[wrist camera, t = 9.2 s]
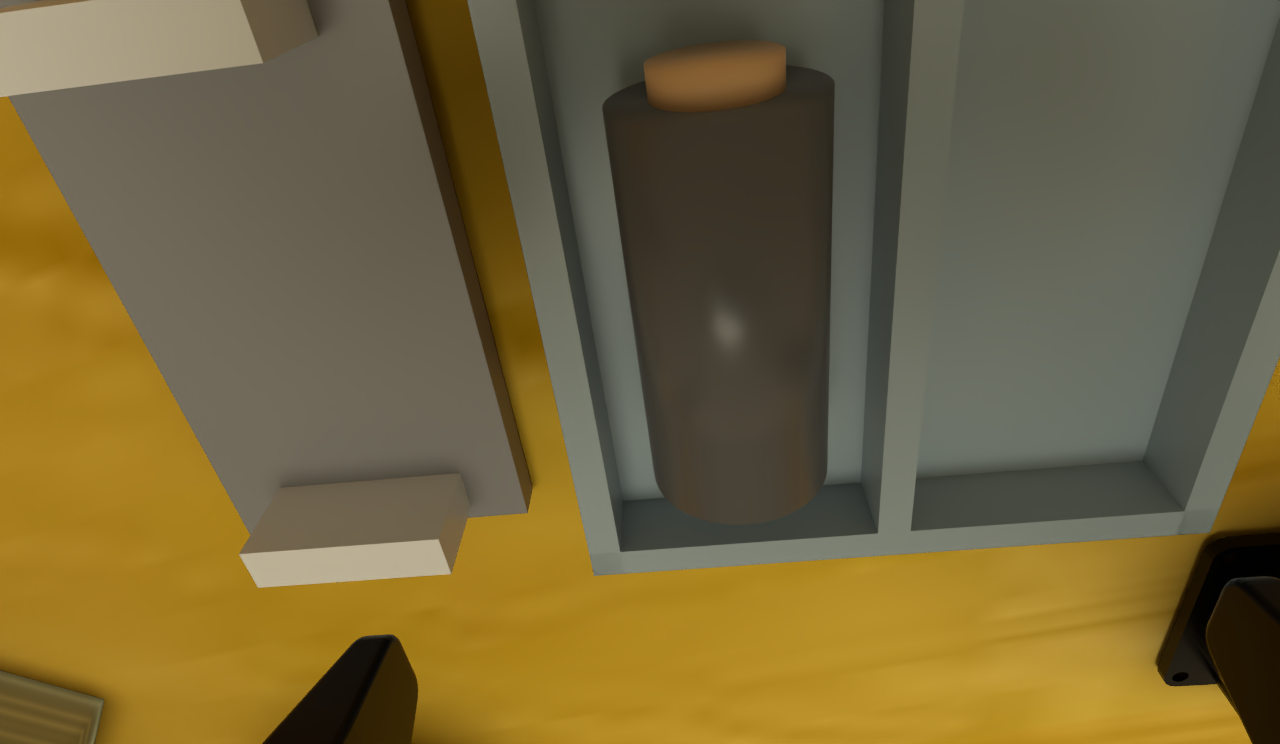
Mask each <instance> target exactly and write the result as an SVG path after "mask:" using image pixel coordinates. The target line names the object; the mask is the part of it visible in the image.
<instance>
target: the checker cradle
mask: <svg viewBox="0 0 1280 744" xmlns="http://www.w3.org/2000/svg"><path fill="white" fill-rule="evenodd" d="M4 96H8V97H9V98H10V100H11V102H12V104H13V106H14V107H15V109H16V111H17V113H18V115H19V116H20V118H21V120H22V122H23V124H24V126H25V127H26V129H27V131H28V133H29V135H30V136H31V138H32V140H33V142H34V144H35V145H36V147H37V149H38V151H39V153H40V155H41V156H42V158H43V160H44V162H45V164H46V165H47V167H48V169H49V171H50V173H51V174H52V176H53V178H54V180H55V182H56V184H57V185H58V187H59V189H60V191H61V193H62V194H63V196H64V198H65V200H66V202H67V203H68V205H69V207H70V209H71V211H72V212H73V214H74V216H75V218H76V220H77V222H78V223H79V225H80V227H81V229H82V231H83V232H84V234H85V236H86V238H87V240H88V241H89V243H90V245H91V247H92V249H93V251H94V252H95V254H96V256H97V258H98V260H99V261H100V263H101V265H102V267H103V269H104V270H105V272H106V274H107V276H108V278H109V279H110V281H111V283H112V285H113V287H114V289H115V290H116V292H117V294H118V296H119V298H120V299H121V301H122V303H123V305H124V307H125V308H126V310H127V312H128V314H129V316H130V318H131V319H132V321H133V323H134V325H135V327H136V328H137V330H138V332H139V334H140V336H141V337H142V339H143V341H144V343H145V345H146V346H147V348H148V350H149V352H150V354H151V356H152V357H153V359H154V361H155V363H156V365H157V366H158V368H159V370H160V372H161V374H162V375H163V377H164V379H165V381H166V383H167V385H168V386H169V388H170V390H171V392H172V394H173V395H174V397H175V399H176V401H177V403H178V404H179V406H180V408H181V410H182V412H183V414H184V415H185V417H186V419H187V421H188V423H189V424H190V426H191V428H192V430H193V432H194V433H195V435H196V437H197V439H198V441H199V442H200V444H201V446H202V448H203V450H204V452H205V453H206V455H207V457H208V459H209V461H210V462H211V464H212V466H213V468H214V470H215V471H216V473H217V475H218V477H219V479H220V481H221V482H222V484H223V486H224V488H225V490H226V491H227V493H228V495H229V497H230V499H231V500H232V502H233V504H234V506H235V508H236V509H237V511H238V513H239V515H240V517H241V519H242V520H243V522H244V524H245V526H246V528H247V529H248V531H249V533H250V534H251V535H250V537H249V539H248V540H247V542H246V544H245V545H244V547H243V549H242V550H241V552H240V553H239V555H240V557H241V559H242V560H243V562H244V564H245V565H246V567H247V569H248V571H249V572H250V574H251V576H252V578H253V579H254V581H255V583H256V585H257V586H258V588H260V587H275V586H289V585H303V584H317V583H331V582H345V581H359V580H373V579H387V578H401V577H415V576H429V575H443V574H451V573H452V569H453V566H454V563H455V559H456V556H457V552H458V549H459V545H460V542H461V539H462V535H463V532H464V528H465V525H466V521H467V518H469V517H482V516H495V515H508V514H521V513H528V509H529V504H530V499H531V494H532V489H533V488H532V484H531V480H530V477H529V473H528V469H527V465H526V461H525V457H524V454H523V450H522V446H521V442H520V438H519V434H518V431H517V427H516V423H515V419H514V415H513V411H512V408H511V404H510V400H509V396H508V392H507V388H506V385H505V381H504V377H503V373H502V369H501V365H500V362H499V358H498V354H497V350H496V346H495V342H494V339H493V335H492V331H491V327H490V323H489V319H488V316H487V312H486V308H485V304H484V300H483V296H482V293H481V289H480V285H479V281H478V277H477V273H476V270H475V266H474V262H473V258H472V254H471V250H470V247H469V243H468V239H467V235H466V231H465V227H464V224H463V220H462V216H461V212H460V208H459V204H458V201H457V197H456V193H455V189H454V185H453V181H452V178H451V174H450V170H449V166H448V162H447V158H446V155H445V151H444V147H443V143H442V139H441V135H440V132H439V128H438V124H437V120H436V116H435V112H434V109H433V105H432V101H431V97H430V93H429V89H428V86H427V82H426V78H425V74H424V70H423V66H422V63H421V59H420V55H419V51H418V47H417V43H416V40H415V36H414V32H413V28H412V24H411V20H410V17H409V13H408V9H407V5H406V1H405V0H0V97H4Z"/></svg>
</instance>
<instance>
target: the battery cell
mask: <svg viewBox="0 0 1280 744" xmlns="http://www.w3.org/2000/svg"><path fill="white" fill-rule="evenodd" d="M644 74H645V81H643V82H639V83H637V84H634V85H631V86H629V87H626V88H624V89H622V90H620V91H618V92H616V93H614V94H613V95H611V96H610V97H608V98H607V99H606V100H605V102H604V103H603V105H602V111H603V118H604V125H605V132H606V139H607V146H608V153H609V160H610V167H611V174H612V181H613V189H614V196H615V203H616V210H617V217H618V224H619V231H620V238H621V245H622V252H623V259H624V266H625V273H626V280H627V287H628V294H629V301H630V308H631V315H632V322H633V329H634V336H635V343H636V350H637V357H638V364H639V371H640V378H641V385H642V392H643V399H644V406H645V413H646V420H647V427H648V434H649V441H650V448H651V455H652V462H653V469H654V476H655V480H656V483H657V485H658V488H659V490H660V491H661V493H662V494H663V496H664V497H665V498H666V499H667V500H668V501H669V502H670V503H671V504H673V505H674V506H675V507H676V508H678V509H679V510H681V511H683V512H685V513H686V514H689V515H691V516H693V517H696V518H699V519H702V520H705V521H709V522H714V523H719V524H729V525H747V524H757V523H763V522H768V521H772V520H775V519H778V518H781V517H784V516H786V515H789V514H791V513H793V512H795V511H796V510H798V509H800V508H801V507H803V506H804V505H806V504H807V503H808V502H809V501H810V500H812V499H813V498H814V497H815V496H816V494H817V493H818V492H819V490H820V489H821V487H822V485H823V484H824V482H825V478H826V475H827V467H828V415H829V362H830V310H831V257H832V204H833V151H834V98H835V83H834V80H833V79H832V78H831V77H830V76H829V75H827V74H825V73H823V72H820V71H818V70H814V69H810V68H804V67H798V66H789V65H786V48H785V47H784V46H783V45H781V44H779V43H775V42H769V41H758V40H736V41H721V42H711V43H704V44H697V45H691V46H686V47H681V48H677V49H673V50H669V51H666V52H663V53H660V54H657V55H655V56H653V57H651V58H649V59H647V60H646V61H645V62H644Z"/></svg>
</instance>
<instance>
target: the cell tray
mask: <svg viewBox="0 0 1280 744" xmlns="http://www.w3.org/2000/svg"><path fill="white" fill-rule="evenodd" d="M467 1H468V6H469V10H470V15H471V19H472V24H473V29H474V33H475V38H476V42H477V47H478V51H479V56H480V60H481V65H482V69H483V74H484V78H485V83H486V87H487V92H488V97H489V101H490V106H491V110H492V115H493V119H494V124H495V128H496V133H497V137H498V142H499V146H500V151H501V155H502V160H503V164H504V169H505V174H506V178H507V183H508V187H509V192H510V196H511V201H512V205H513V210H514V214H515V219H516V223H517V228H518V232H519V237H520V241H521V246H522V251H523V255H524V260H525V264H526V269H527V273H528V278H529V282H530V287H531V291H532V296H533V300H534V305H535V309H536V314H537V319H538V323H539V328H540V332H541V337H542V341H543V346H544V350H545V355H546V359H547V364H548V368H549V373H550V377H551V382H552V386H553V391H554V396H555V400H556V405H557V409H558V414H559V418H560V423H561V427H562V432H563V436H564V441H565V445H566V450H567V454H568V459H569V463H570V468H571V473H572V477H573V482H574V486H575V491H576V495H577V500H578V504H579V509H580V513H581V518H582V522H583V527H584V531H585V536H586V540H587V545H588V550H589V554H590V559H591V563H592V568H593V572H594V576H596V575H611V574H625V573H639V572H654V571H668V570H682V569H697V568H711V567H725V566H740V565H754V564H768V563H783V562H797V561H811V560H826V559H840V558H854V557H869V556H883V555H897V554H912V553H926V552H940V551H955V550H969V549H983V548H998V547H1012V546H1026V545H1041V544H1055V543H1069V542H1084V541H1098V540H1112V539H1127V538H1141V537H1155V536H1170V535H1184V534H1198V533H1210V531H1211V529H1212V526H1213V524H1214V521H1215V518H1216V516H1217V513H1218V511H1219V508H1220V506H1221V503H1222V501H1223V498H1224V496H1225V493H1226V491H1227V488H1228V486H1229V483H1230V481H1231V478H1232V476H1233V473H1234V471H1235V468H1236V466H1237V463H1238V461H1239V458H1240V455H1241V453H1242V450H1243V448H1244V445H1245V443H1246V440H1247V438H1248V435H1249V433H1250V430H1251V428H1252V425H1253V423H1254V420H1255V418H1256V415H1257V413H1258V410H1259V408H1260V405H1261V403H1262V400H1263V398H1264V395H1265V393H1266V390H1267V387H1268V385H1269V382H1270V380H1271V377H1272V375H1273V372H1274V370H1275V367H1276V365H1277V362H1278V360H1279V357H1280V0H467ZM736 40H758V41H769V42H775V43H779V44H781V45H783V46H784V47H785V48H786V65H789V66H798V67H804V68H810V69H814V70H818V71H820V72H823V73H825V74H827V75H829V76H830V77H831V78H832V79H833V80H834V83H835V98H834V151H833V204H832V257H831V310H830V362H829V415H828V467H827V475H826V478H825V482H824V484H823V485H822V487H821V489H820V490H819V492H818V493H817V494H816V496H815V497H814V498H813V499H812V500H810V501H809V502H808V503H807V504H806V505H804V506H803V507H801V508H800V509H798V510H796V511H795V512H793V513H791V514H789V515H786V516H784V517H781V518H778V519H775V520H772V521H768V522H763V523H757V524H747V525H729V524H719V523H714V522H709V521H705V520H702V519H699V518H696V517H693V516H691V515H689V514H686V513H685V512H683V511H681V510H679V509H678V508H676V507H675V506H674V505H673V504H671V503H670V502H669V501H668V500H667V499H666V498H665V497H664V496H663V494H662V493H661V491H660V490H659V488H658V485H657V483H656V480H655V476H654V469H653V462H652V455H651V448H650V441H649V434H648V427H647V420H646V413H645V406H644V399H643V392H642V385H641V378H640V371H639V364H638V357H637V350H636V343H635V336H634V329H633V322H632V315H631V308H630V301H629V294H628V287H627V280H626V273H625V266H624V259H623V252H622V245H621V238H620V231H619V224H618V217H617V210H616V203H615V196H614V189H613V181H612V174H611V167H610V160H609V153H608V146H607V139H606V132H605V125H604V118H603V111H602V105H603V103H604V102H605V100H606V99H607V98H608V97H610V96H611V95H613V94H614V93H616V92H618V91H620V90H622V89H624V88H626V87H629V86H631V85H634V84H637V83H639V82H643V81H645V74H644V62H645V61H646V60H647V59H649V58H651V57H653V56H655V55H657V54H660V53H663V52H666V51H669V50H673V49H677V48H681V47H686V46H691V45H697V44H704V43H711V42H721V41H736Z"/></svg>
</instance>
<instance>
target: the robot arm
mask: <svg viewBox="0 0 1280 744" xmlns="http://www.w3.org/2000/svg"><path fill="white" fill-rule="evenodd" d="M1158 672H1159V674H1160V675H1161V677H1162V679H1163V680H1164V682H1165V683H1166V684H1167V685H1170V686H1189V685H1208V684H1217V685H1218V686H1219V688H1220V689H1221V691H1222V692H1223V693H1224V695H1225V696H1226V698H1227V699H1228V701H1229V702H1230V704H1231V705H1232V707H1233V708H1234V709H1235V711H1236V712H1237V714H1238V715H1239V717H1240V719H1241V721H1242V723H1243V725H1244V727H1245V729H1246V732H1247V734H1248V736H1249V738H1250V740H1251V742H1252V744H1280V533H1277V534H1263V535H1248V536H1234V537H1225V538H1220V539H1217V540H1215V541H1213V542H1212V543H1210V544H1209V545H1208V546H1207V547H1206V549H1205V550H1204V552H1203V555H1202V557H1201V560H1200V562H1199V565H1198V567H1197V570H1196V572H1195V575H1194V577H1193V580H1192V582H1191V585H1190V587H1189V590H1188V592H1187V595H1186V598H1185V600H1184V603H1183V605H1182V608H1181V610H1180V613H1179V615H1178V618H1177V620H1176V623H1175V625H1174V628H1173V630H1172V633H1171V635H1170V638H1169V640H1168V643H1167V645H1166V648H1165V650H1164V653H1163V655H1162V658H1161V660H1160V663H1159V665H1158ZM417 699H418V684H417V679H416V676H415V673H414V671H413V669H412V667H411V665H410V662H409V660H408V658H407V656H406V654H405V651H404V649H403V647H402V645H401V643H400V641H399V639H398V638H397V637H395V636H394V635H374V636H365V637H361V638H359V639H358V640H356V641H355V642H354V643H353V644H352V645H351V646H350V647H349V648H348V649H347V650H346V651H345V653H344V654H343V655H342V656H341V657H340V658H339V659H338V660H337V661H336V662H335V664H334V665H333V666H332V667H331V668H330V669H329V670H328V671H327V672H326V674H325V675H324V676H323V677H322V678H321V679H320V680H319V681H318V682H317V683H316V685H315V686H314V687H313V688H312V689H311V690H310V691H309V692H308V693H307V695H306V696H305V697H304V698H303V699H302V700H301V701H300V702H299V703H298V704H297V706H296V707H295V708H294V709H293V710H292V711H291V712H290V713H289V714H288V716H287V717H286V718H285V719H284V720H283V721H282V722H281V723H280V724H279V725H278V727H277V728H276V729H275V730H274V731H273V732H272V733H271V734H270V735H269V737H268V738H267V739H266V740H265V741H264V742H263V743H262V744H411V742H412V735H413V728H414V721H415V713H416V706H417Z"/></svg>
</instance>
